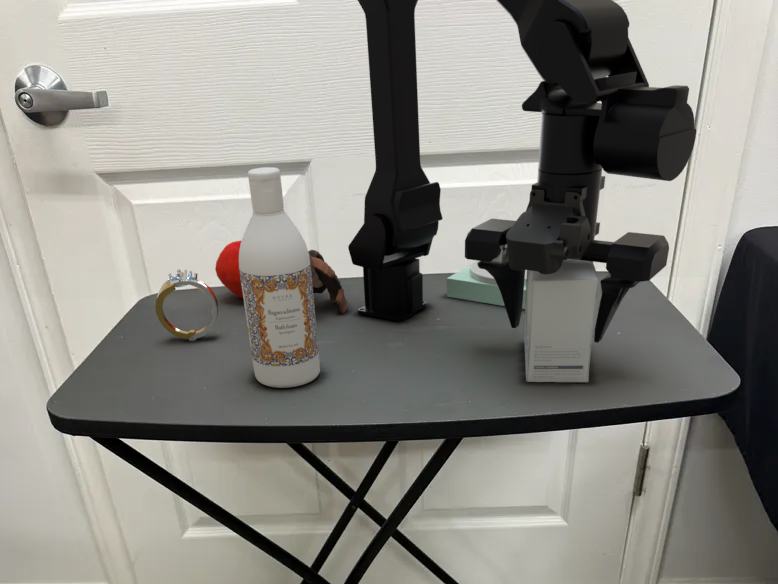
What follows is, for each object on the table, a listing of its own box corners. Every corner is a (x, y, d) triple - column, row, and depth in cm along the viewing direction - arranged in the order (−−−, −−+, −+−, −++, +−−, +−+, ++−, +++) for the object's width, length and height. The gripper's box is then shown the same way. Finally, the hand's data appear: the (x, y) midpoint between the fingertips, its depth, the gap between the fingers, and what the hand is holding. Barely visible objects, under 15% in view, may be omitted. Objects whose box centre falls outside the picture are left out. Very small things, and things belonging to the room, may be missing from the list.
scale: (445, 296, 100) (446, 271, 98) (485, 273, 107) (485, 249, 105) (540, 312, 94) (542, 285, 92) (574, 286, 101) (577, 261, 99)
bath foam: (258, 393, 78) (228, 180, 67) (252, 367, 84) (222, 167, 72) (325, 384, 79) (307, 173, 68) (314, 359, 85) (295, 160, 73)
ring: (224, 333, 93) (212, 265, 88) (220, 342, 90) (208, 273, 86) (166, 336, 93) (152, 269, 88) (161, 346, 90) (146, 277, 86)
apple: (213, 307, 101) (203, 248, 97) (232, 287, 107) (223, 232, 103) (272, 307, 100) (264, 248, 95) (287, 288, 106) (281, 231, 102)
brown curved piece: (350, 325, 94) (312, 272, 89) (287, 355, 98) (248, 306, 93) (357, 271, 102) (322, 219, 97) (299, 301, 106) (262, 252, 101)
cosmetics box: (521, 343, 86) (527, 246, 80) (580, 344, 85) (592, 245, 79) (522, 383, 77) (530, 277, 71) (588, 383, 77) (602, 277, 70)
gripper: (436, 179, 70) (437, 345, 79) (642, 194, 61) (616, 380, 70) (493, 157, 77) (487, 311, 86) (684, 168, 68) (655, 339, 77)
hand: (555, 334), depth 79 cm, fingers open, 9 cm apart
